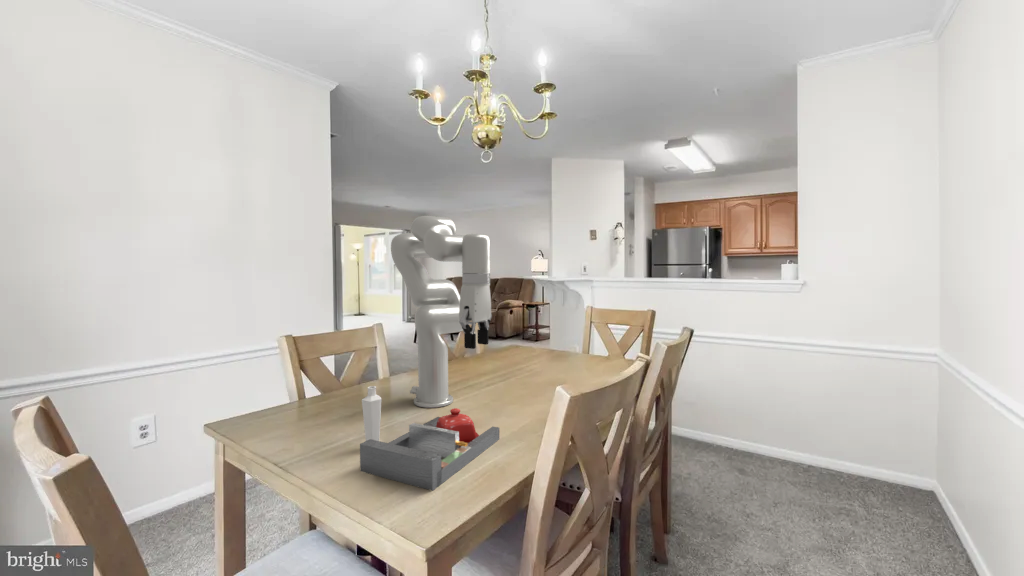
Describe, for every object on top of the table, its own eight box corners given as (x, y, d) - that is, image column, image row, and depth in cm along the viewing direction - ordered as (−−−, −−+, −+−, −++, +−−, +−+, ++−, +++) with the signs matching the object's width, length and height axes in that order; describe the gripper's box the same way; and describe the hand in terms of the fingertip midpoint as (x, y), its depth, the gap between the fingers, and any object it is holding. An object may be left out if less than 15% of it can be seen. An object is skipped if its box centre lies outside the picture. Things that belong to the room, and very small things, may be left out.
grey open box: (360, 471, 95) (359, 444, 94) (438, 427, 120) (437, 405, 120) (432, 490, 86) (432, 460, 86) (499, 439, 112) (499, 416, 112)
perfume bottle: (377, 442, 110) (375, 383, 109) (385, 447, 107) (384, 387, 106) (359, 447, 107) (358, 387, 106) (367, 453, 104) (366, 390, 103)
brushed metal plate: (409, 449, 105) (409, 425, 104) (413, 447, 106) (413, 422, 106) (464, 462, 98) (464, 435, 98) (468, 459, 99) (468, 433, 99)
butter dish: (427, 437, 114) (427, 405, 114) (470, 430, 119) (469, 399, 118) (438, 454, 103) (438, 419, 103) (484, 446, 108) (484, 412, 108)
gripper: (480, 279, 128) (480, 340, 129) (446, 281, 112) (447, 350, 113) (503, 279, 125) (503, 342, 126) (471, 281, 109) (472, 353, 110)
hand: (476, 345), depth 119 cm, fingers open, 6 cm apart
